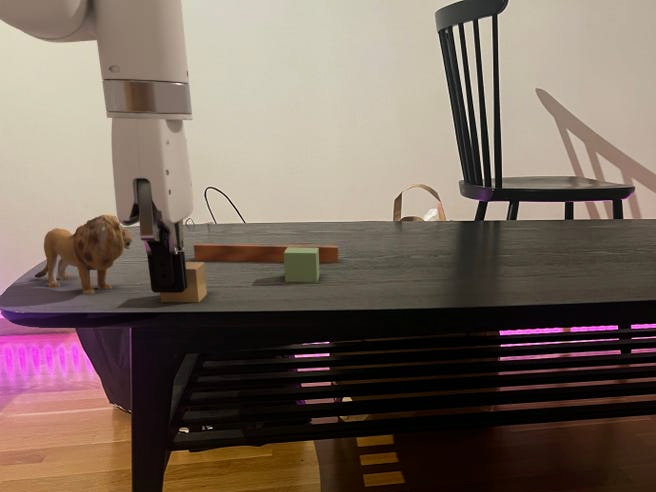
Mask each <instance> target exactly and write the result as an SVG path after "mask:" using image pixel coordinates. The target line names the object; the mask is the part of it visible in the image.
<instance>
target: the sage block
mask: <svg viewBox="0 0 656 492" xmlns="http://www.w3.org/2000/svg"><path fill="white" fill-rule="evenodd" d="M283 265H284V282H285V283H287V282H288V283H296V282H297V283H318V281H319V278H320V262H319V248H301V247H287V249H286V250H285V252H284V262H283Z"/></svg>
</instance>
